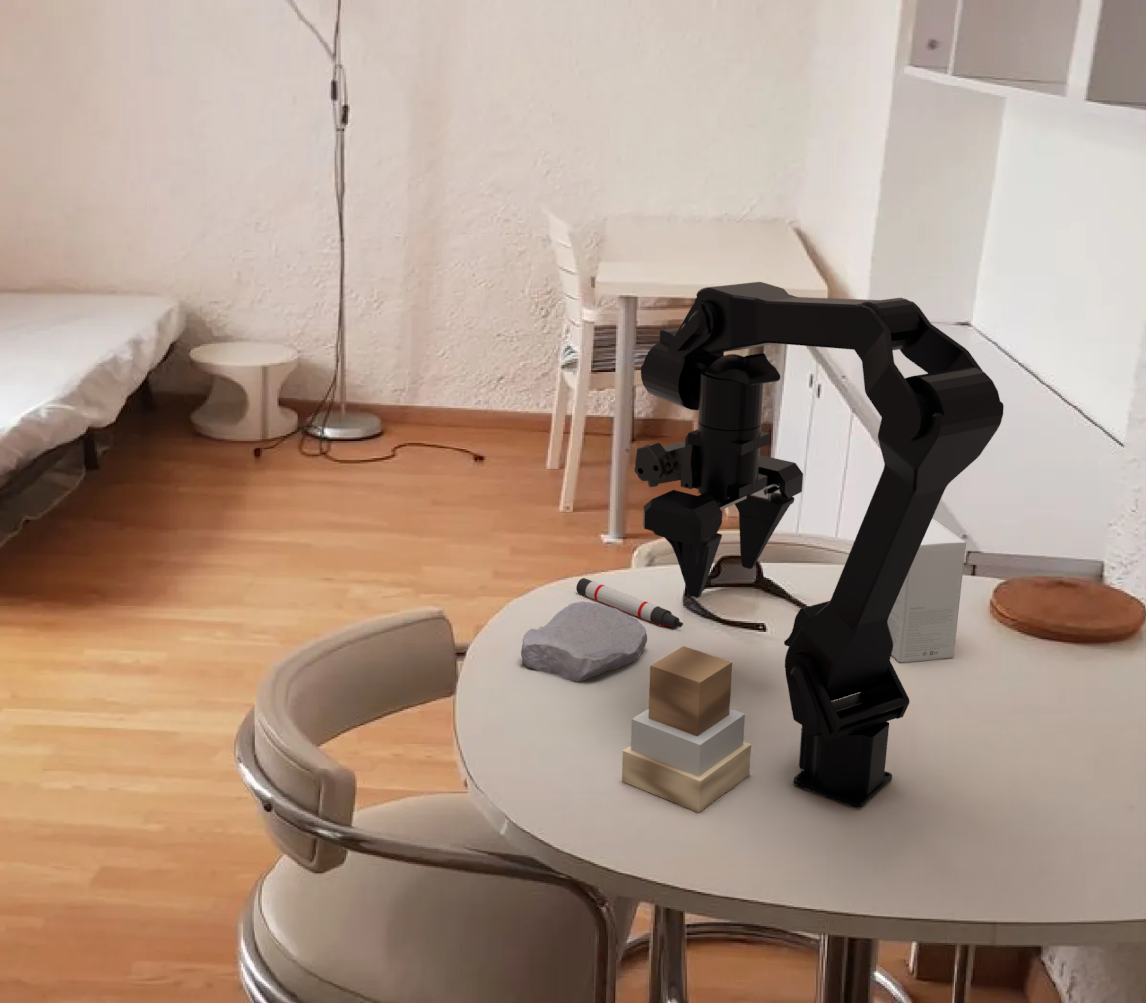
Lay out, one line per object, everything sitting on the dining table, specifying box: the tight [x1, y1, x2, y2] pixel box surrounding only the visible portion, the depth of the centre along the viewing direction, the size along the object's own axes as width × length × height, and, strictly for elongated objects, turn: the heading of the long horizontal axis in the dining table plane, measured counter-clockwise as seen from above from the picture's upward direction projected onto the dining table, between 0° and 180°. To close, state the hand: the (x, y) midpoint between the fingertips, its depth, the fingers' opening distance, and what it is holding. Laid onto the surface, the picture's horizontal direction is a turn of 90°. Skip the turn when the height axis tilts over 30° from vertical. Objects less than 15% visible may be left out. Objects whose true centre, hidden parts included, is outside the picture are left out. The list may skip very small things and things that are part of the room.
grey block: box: [630, 708, 746, 777], centre depth 120 cm, size 7×7×3 cm
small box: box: [887, 518, 967, 663], centre depth 146 cm, size 8×6×13 cm
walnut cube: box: [648, 645, 733, 736], centre depth 119 cm, size 5×5×5 cm
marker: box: [576, 577, 684, 629], centre depth 155 cm, size 15×2×2 cm, turn 45°
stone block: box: [520, 600, 648, 683], centre depth 144 cm, size 12×5×10 cm
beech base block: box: [621, 741, 752, 813], centre depth 121 cm, size 8×8×3 cm
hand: (721, 581), depth 131 cm, fingers open, 9 cm apart
